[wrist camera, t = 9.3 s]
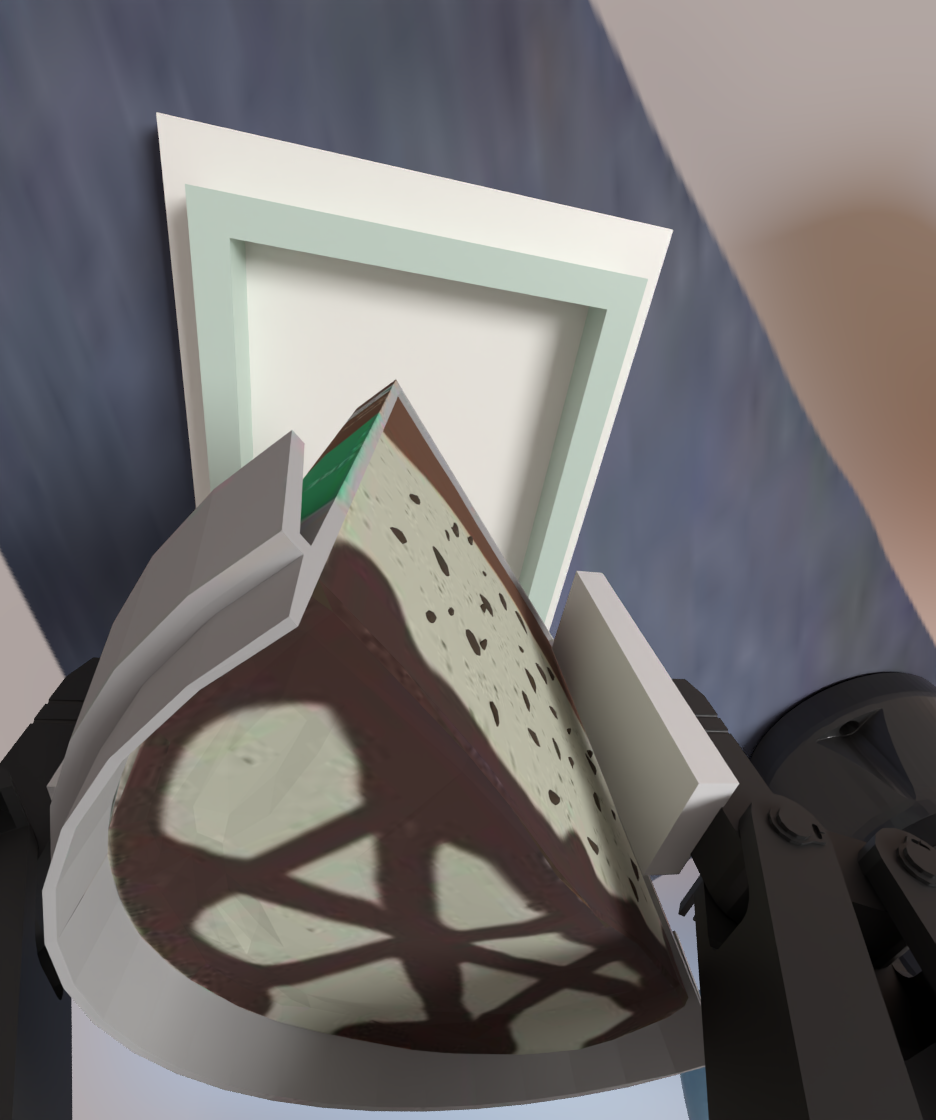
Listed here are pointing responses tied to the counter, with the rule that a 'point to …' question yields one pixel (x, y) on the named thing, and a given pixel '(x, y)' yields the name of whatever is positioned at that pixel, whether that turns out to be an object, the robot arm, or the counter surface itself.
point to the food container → (354, 810)
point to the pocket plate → (404, 323)
